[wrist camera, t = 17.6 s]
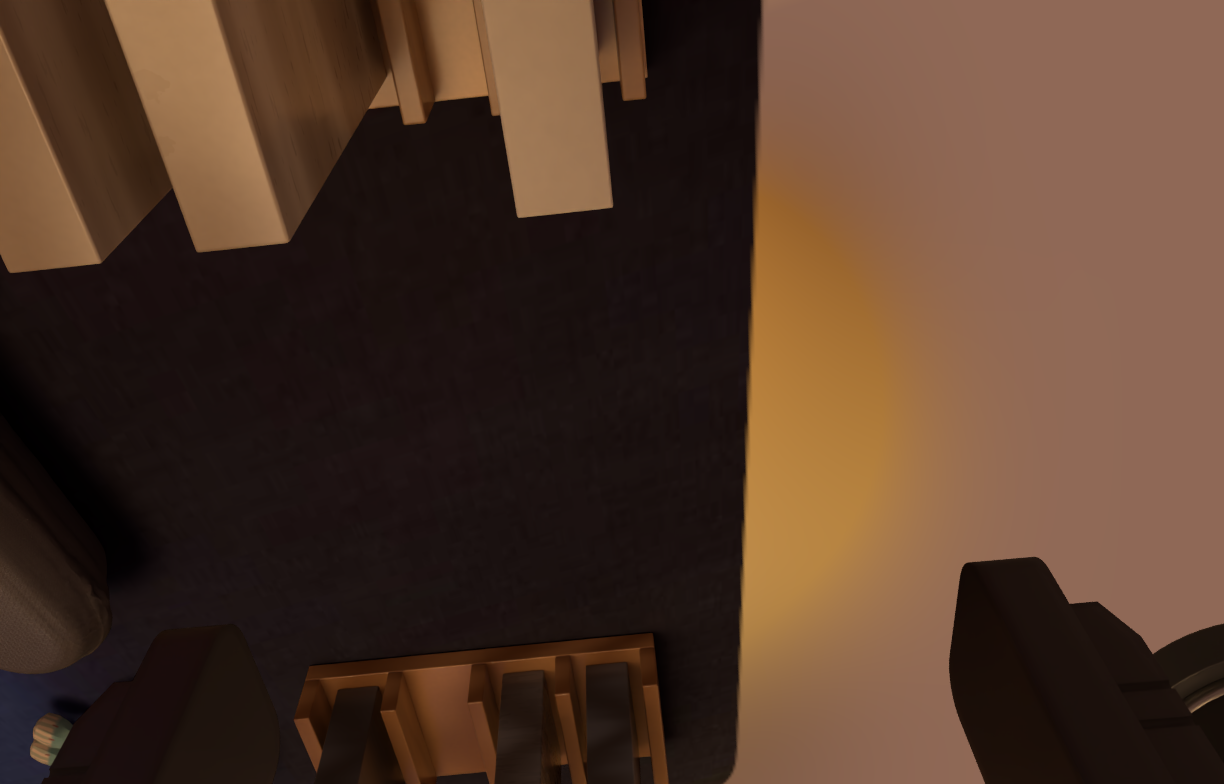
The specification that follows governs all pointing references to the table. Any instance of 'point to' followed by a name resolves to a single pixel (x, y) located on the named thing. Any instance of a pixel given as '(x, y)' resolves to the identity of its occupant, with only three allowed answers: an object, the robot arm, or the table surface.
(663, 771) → the brown wooden rack
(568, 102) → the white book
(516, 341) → the table surface
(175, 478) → the table surface
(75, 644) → the glasses case
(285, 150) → the tan slotted holder
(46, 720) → the stuffed animal
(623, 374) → the table surface
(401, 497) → the table surface
